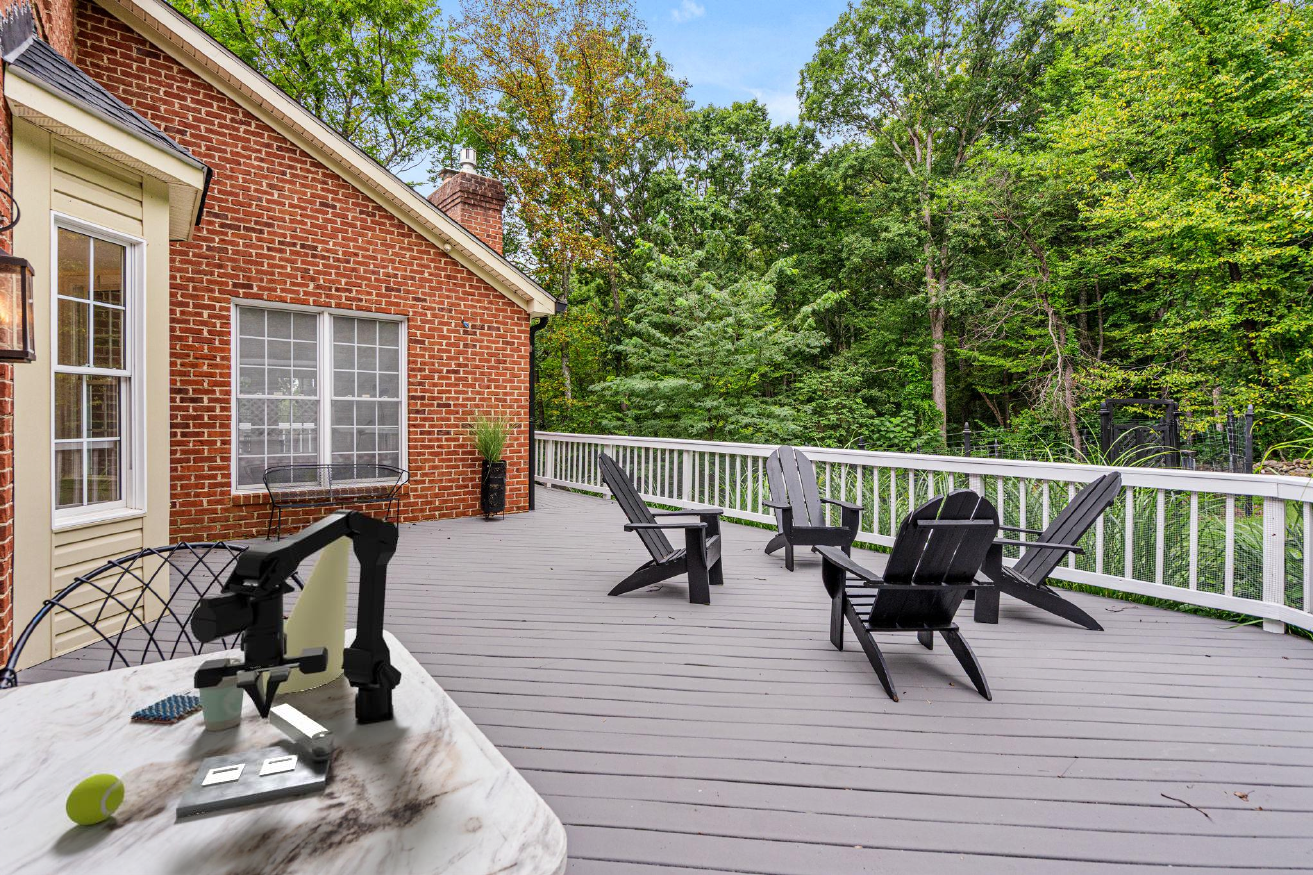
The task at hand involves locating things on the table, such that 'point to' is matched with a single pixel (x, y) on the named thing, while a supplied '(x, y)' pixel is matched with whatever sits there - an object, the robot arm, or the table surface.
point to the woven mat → (169, 709)
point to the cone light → (319, 618)
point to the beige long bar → (301, 729)
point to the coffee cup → (222, 702)
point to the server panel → (254, 778)
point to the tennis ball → (95, 799)
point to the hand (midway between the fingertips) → (265, 717)
